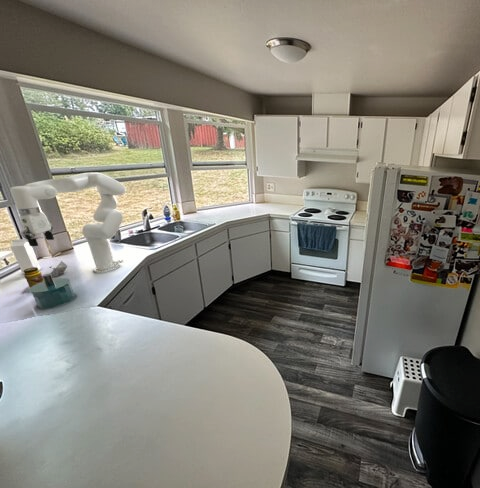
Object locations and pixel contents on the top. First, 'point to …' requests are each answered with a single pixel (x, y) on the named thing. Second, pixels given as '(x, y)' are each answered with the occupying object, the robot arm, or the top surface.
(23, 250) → the milk
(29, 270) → the condiment
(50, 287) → the lid
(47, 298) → the pot
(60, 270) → the paper boat
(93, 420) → the top surface
